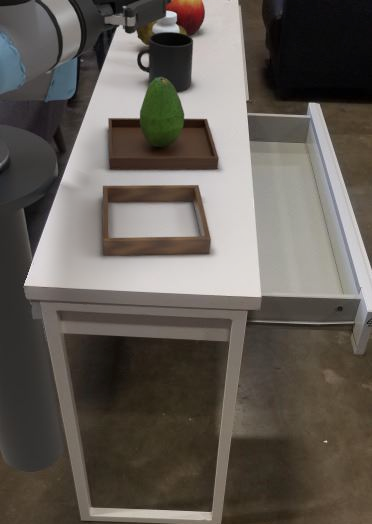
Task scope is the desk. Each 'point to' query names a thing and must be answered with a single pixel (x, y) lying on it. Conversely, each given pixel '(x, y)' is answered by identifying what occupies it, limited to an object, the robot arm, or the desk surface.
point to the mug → (169, 58)
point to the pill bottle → (166, 24)
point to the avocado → (161, 113)
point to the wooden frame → (155, 243)
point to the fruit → (188, 14)
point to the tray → (170, 157)
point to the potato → (146, 32)
